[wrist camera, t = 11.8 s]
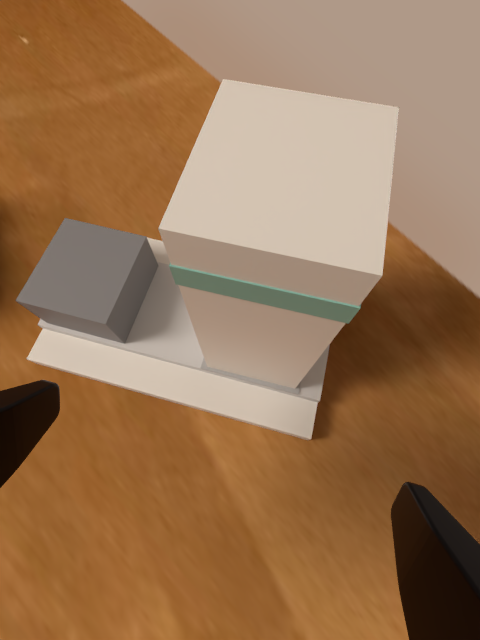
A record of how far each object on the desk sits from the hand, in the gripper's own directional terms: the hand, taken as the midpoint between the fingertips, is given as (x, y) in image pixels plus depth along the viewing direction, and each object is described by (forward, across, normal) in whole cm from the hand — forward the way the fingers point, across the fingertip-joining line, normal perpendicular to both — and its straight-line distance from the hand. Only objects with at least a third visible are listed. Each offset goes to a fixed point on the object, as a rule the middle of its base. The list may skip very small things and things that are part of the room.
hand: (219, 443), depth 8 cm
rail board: (+13, +4, +3) cm, 14 cm away
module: (+11, 0, +2) cm, 11 cm away
